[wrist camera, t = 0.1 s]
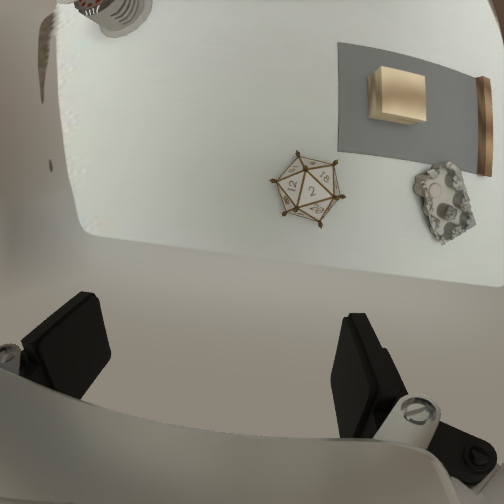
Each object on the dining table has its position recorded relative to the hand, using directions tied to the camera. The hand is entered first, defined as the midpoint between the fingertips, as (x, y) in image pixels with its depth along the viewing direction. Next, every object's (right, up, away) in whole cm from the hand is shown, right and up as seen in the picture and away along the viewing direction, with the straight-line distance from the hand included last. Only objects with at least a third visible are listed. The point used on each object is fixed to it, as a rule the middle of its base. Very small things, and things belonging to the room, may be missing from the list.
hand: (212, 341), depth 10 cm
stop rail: (+37, +23, +22) cm, 49 cm away
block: (+20, +24, +23) cm, 39 cm away
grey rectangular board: (+25, +23, +23) cm, 41 cm away
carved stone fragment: (+29, +11, +27) cm, 41 cm away
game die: (+9, +12, +28) cm, 32 cm away
